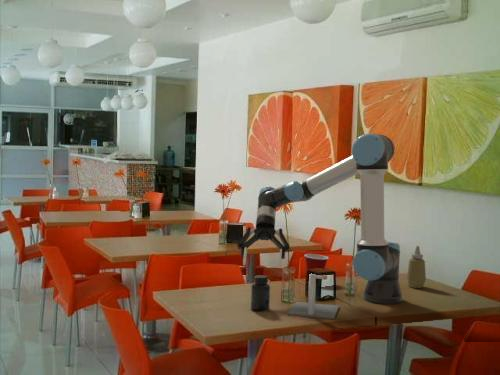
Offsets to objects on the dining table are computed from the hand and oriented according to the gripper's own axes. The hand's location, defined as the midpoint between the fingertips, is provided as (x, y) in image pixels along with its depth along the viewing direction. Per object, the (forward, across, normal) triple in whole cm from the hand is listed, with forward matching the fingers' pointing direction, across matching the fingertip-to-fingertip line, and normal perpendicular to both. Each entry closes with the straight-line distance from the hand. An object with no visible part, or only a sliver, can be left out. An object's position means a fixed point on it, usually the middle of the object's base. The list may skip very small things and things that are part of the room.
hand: (262, 264), depth 226 cm
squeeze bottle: (-18, -65, -39) cm, 78 cm away
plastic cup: (-18, -21, -40) cm, 49 cm away
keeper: (+17, -20, -4) cm, 26 cm away
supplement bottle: (+18, 0, -3) cm, 18 cm away
